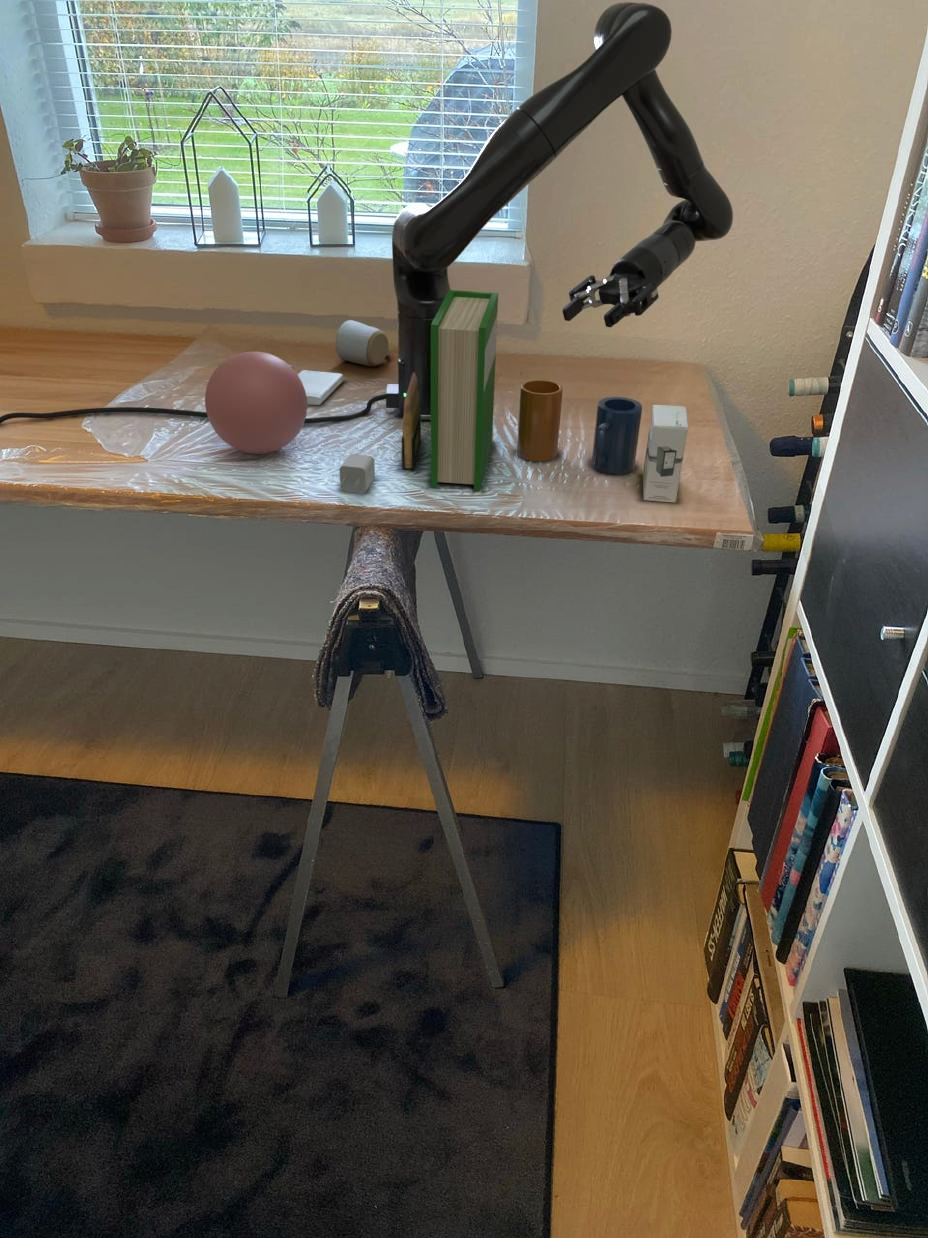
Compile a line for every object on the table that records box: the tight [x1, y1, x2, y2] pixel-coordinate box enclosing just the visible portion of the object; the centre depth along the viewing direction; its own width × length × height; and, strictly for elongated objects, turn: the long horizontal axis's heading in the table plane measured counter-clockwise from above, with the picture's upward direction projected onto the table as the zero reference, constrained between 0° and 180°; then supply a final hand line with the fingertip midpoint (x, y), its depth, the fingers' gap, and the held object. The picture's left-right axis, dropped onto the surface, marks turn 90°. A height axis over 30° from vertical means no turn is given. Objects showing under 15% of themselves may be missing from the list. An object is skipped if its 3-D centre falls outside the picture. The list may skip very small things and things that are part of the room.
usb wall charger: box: [338, 453, 376, 494], centre depth 136 cm, size 4×7×4 cm, turn 168°
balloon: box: [204, 351, 308, 455], centre depth 146 cm, size 15×20×15 cm
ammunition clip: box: [401, 372, 422, 471], centre depth 144 cm, size 11×2×12 cm, turn 177°
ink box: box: [642, 404, 689, 504], centre depth 136 cm, size 9×5×12 cm, turn 172°
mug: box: [591, 396, 643, 476], centre depth 142 cm, size 10×7×10 cm
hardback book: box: [430, 289, 499, 492], centre depth 139 cm, size 18×7×24 cm, turn 173°
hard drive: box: [297, 369, 344, 406], centre depth 170 cm, size 2×8×12 cm
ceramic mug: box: [335, 319, 391, 367], centre depth 183 cm, size 11×8×8 cm
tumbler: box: [516, 379, 564, 462], centre depth 147 cm, size 6×6×11 cm
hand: (585, 318), depth 148 cm, fingers open, 8 cm apart
